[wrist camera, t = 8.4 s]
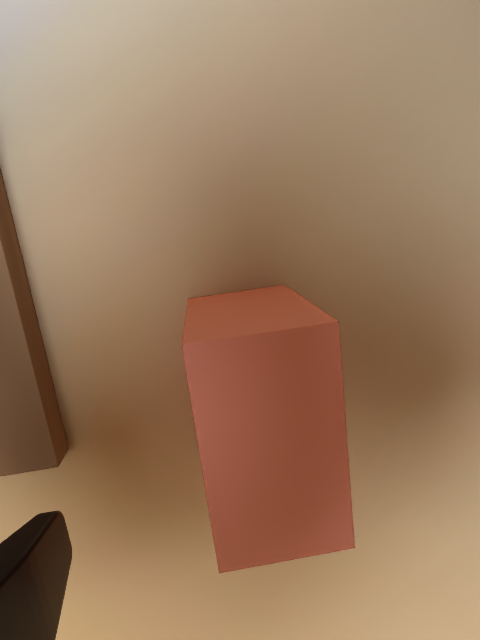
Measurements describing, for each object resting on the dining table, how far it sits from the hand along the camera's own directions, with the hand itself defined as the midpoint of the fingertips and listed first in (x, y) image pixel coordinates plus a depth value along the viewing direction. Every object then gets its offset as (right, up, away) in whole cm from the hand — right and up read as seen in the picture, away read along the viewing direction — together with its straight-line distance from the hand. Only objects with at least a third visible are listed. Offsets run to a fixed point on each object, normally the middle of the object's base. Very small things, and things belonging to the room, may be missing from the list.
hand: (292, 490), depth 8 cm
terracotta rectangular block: (-1, +2, +7) cm, 8 cm away
